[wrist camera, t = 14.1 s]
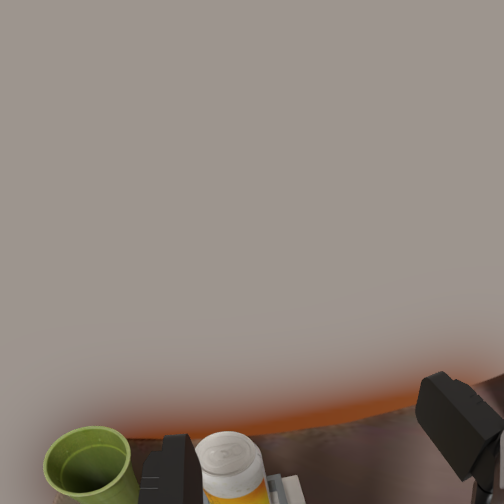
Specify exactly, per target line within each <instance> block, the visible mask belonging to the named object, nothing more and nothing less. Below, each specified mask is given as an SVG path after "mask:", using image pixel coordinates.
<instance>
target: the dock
mask: <svg viewBox="0 0 504 504" xmlns="http://www.w3.org/2000/svg"><path fill="white" fill-rule="evenodd" d="M266 479H267V483H268V488H269V493H270V497H271V502H272V504H306V502H305V499H304V496H303V493H302V489H301V486H300V483H299V479H298V476H297V475H294V476H289V477H285V478H281V475H280V474H275V475H270V476H266ZM203 504H210V502H209V500H208V498H207V496H206V495H205V493H204V491H203Z"/></svg>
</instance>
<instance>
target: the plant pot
mask: <svg viewBox="0 0 504 504" xmlns="http://www.w3.org/2000/svg"><path fill="white" fill-rule="evenodd" d="M130 459H131V450H130V446H129V443H128V441H127V440H126V438H125V437H124V436H123V435H122V434H121V433H119V432H118V431H116V430H114V429H111V428H108V427H103V426H87V427H83V428H79V429H75V430H73V431H70V432H69V433H67V434H65V435H63V436H62V437H60V438H59V439H58V440H56V441H55V442H54V443H53V444H52V446H51V447H50V448H49V450H48V451H47V453H46V456H45V458H44V463H43V470H44V475H45V478H46V480H47V481H48V483H49V484H50V485H51V486H52V487H53V488H54V489H55V490H57V491H58V492H60V493H62V494H65V495H68V496H70V497H71V498H73V499H75V500H77V501H78V502H80V503H81V504H138V498H139V491H140V487H139V484H138V482H137V479H136V477H135V474H134V472H133V469H132V463H131V460H130Z"/></svg>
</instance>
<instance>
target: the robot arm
mask: <svg viewBox="0 0 504 504" xmlns="http://www.w3.org/2000/svg"><path fill="white" fill-rule="evenodd" d="M415 413H416V418H417V420H418V422H419V424H420V425H421V427H422V428H423V429H424V431H425V432H426V433H427V435H428V436H429V437H430V439H431V440H432V441H433V443H434V444H435V446H436V447H437V448H438V450H439V451H440V452H441V454H442V455H443V456H444V458H445V459H446V460H447V462H448V463H449V465H450V466H451V467H452V469H453V470H454V471H455V473H456V474H457V476H458V477H459V478H460V480H461V481H462V482H463V481H465V480H467V479H468V478H470V477H472V476H473V477H474V478H475V481H474V484H473V491H472V498H471V504H504V420H503V419H502V418H501V417H500V416H499V415H498V414H497V413H496V412H495V411H494V410H493V409H492V408H491V407H490V406H489V405H488V404H487V403H486V402H485V401H483V399H482V398H481V397H480V396H479V395H477V394H476V392H475V391H474V390H473V389H472V388H471V387H470V386H469V385H467V384H465V383H463V382H461V381H459V380H457V379H455V380H452V379H451V378H450V377H449V376H448V375H447V374H446V373H445V372H443V371H441V372H438V373H435V374H433V375H431V376H428V377H426V378H424V379H423V380H422V382H421V386H420V391H419V396H418V400H417V404H416V409H415ZM141 477H142V479H141V483H140V491H139V498H138V504H203V476H202V468H201V464H200V461H199V458H198V456H197V454H196V451H195V449H194V447H193V444H192V442H191V439H190V437H189V435H188V434H178V435H165V436H164V438H163V445H162V451H151V453H150V454H149V456H148V457H147V459H146V460H145V462H144V463H143V470H142V476H141Z"/></svg>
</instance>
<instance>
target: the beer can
mask: <svg viewBox="0 0 504 504" xmlns="http://www.w3.org/2000/svg"><path fill="white" fill-rule="evenodd" d="M195 451H196V454H197V456H198V458H199V461H200V464H201V468H202V476H203V491H204V493H205V495H206V496H207V498H208V500H209V502H210V504H272V502H271V497H270V493H269V488H268V483H267V479H266V474H265V469H264V464H263V460H262V455H261V452H260V449H259V448H258V446H257V445H256V444H255V443H253V442H252V441H251V439H250V438H248V437H247V436H245V435H244V434H241V433H238V432H232V431H231V432H230V431H225V432H219V433H215V434H212V435H210V436H208V437H206V438H204V439H203V440H202V441H201V442H200V443H199V444H198V445H197V447H196V448H195Z"/></svg>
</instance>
